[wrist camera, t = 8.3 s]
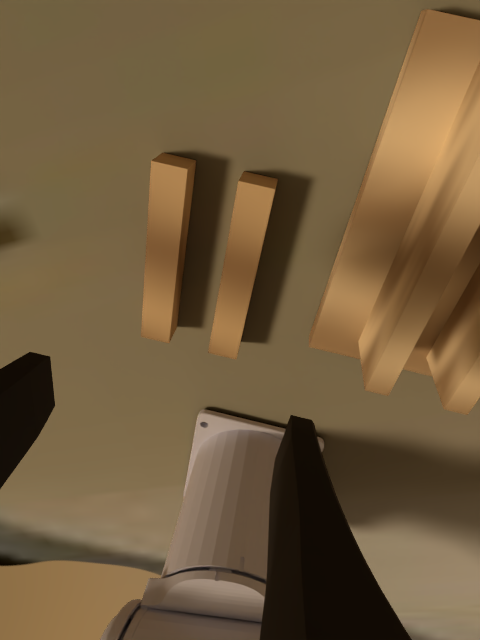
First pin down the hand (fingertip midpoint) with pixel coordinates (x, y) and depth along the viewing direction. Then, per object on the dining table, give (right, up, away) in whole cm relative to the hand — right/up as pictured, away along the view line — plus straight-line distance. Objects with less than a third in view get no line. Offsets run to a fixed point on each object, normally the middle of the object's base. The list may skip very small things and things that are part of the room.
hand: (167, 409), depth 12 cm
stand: (0, +6, +8) cm, 10 cm away
